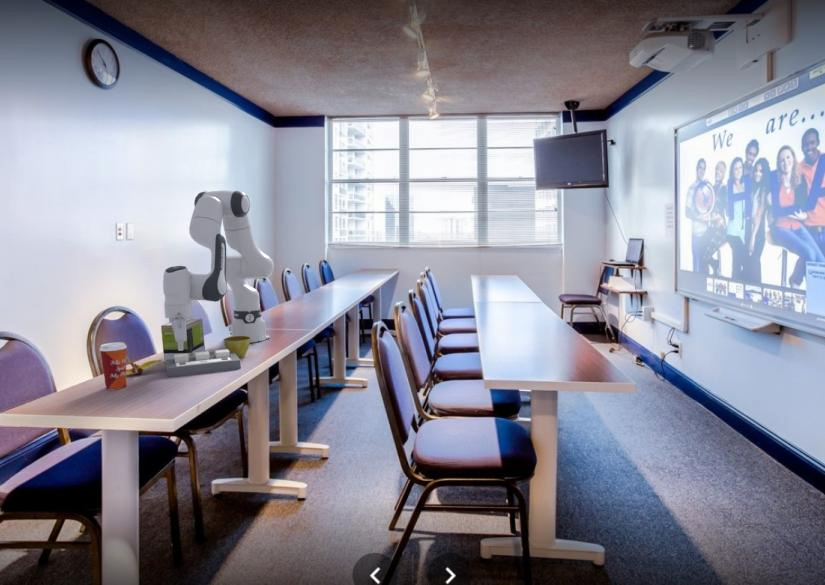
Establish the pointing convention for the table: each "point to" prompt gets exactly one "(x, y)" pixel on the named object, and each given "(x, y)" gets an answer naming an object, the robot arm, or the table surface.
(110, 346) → the paper cup
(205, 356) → the button middle
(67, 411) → the table surface
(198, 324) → the tea box
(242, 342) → the flower pot
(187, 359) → the button
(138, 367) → the origami crane
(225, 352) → the button
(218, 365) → the button board
